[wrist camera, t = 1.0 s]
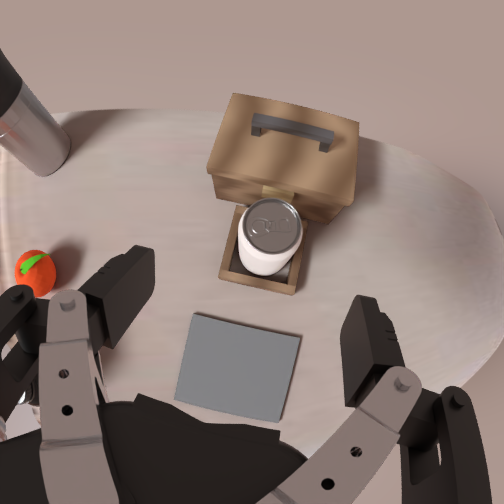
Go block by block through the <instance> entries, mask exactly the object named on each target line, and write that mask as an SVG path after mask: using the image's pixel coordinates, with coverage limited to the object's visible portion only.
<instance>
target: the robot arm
mask: <svg viewBox="0 0 504 504" xmlns="http://www.w3.org/2000/svg"><path fill="white" fill-rule="evenodd" d="M0 145H1V146H2V147H4V148H5V149H6V150H7V151H8V152H9V153H11V154H12V155H13V156H14V157H15V158H17V159H18V160H19V161H20V162H21V163H23V164H24V165H25V166H26V167H27V168H29V169H30V170H31V171H32V172H34V173H35V174H36V175H38V176H47V175H50V174H52V173H53V172H55V171H56V170H57V169H58V168H59V167H60V166H61V165H62V164H63V162H64V161H65V159H66V158H67V156H68V153H69V151H70V145H71V142H70V138H69V136H68V135H67V134H66V133H65V132H64V130H63V129H62V128H61V127H60V126H59V124H58V123H57V122H56V121H55V120H54V118H53V117H52V116H51V115H50V113H49V112H48V111H47V110H46V109H45V107H44V106H43V105H42V104H41V102H40V101H39V100H38V99H37V97H36V96H35V95H34V94H33V93H32V91H31V90H30V89H29V88H28V86H27V85H26V84H25V82H24V81H23V80H22V78H21V77H20V76H19V74H18V73H17V72H16V71H15V69H14V68H13V67H12V65H11V64H10V63H9V61H8V60H7V58H6V57H5V55H4V54H3V52H2V51H1V49H0ZM154 286H155V254H154V250H153V249H151V248H147V247H143V246H138V245H134V246H133V247H132V248H131V249H130V250H129V251H128V252H127V253H126V254H120V255H118V256H116V257H114V258H111V259H110V260H109V261H108V262H107V263H106V264H105V265H104V267H101V268H100V269H99V270H98V272H96V273H95V274H94V275H93V276H92V277H91V278H90V279H89V280H88V281H86V282H85V283H84V284H83V285H82V286H81V287H80V288H79V289H78V290H64V291H61V292H59V293H57V294H55V295H54V296H53V297H52V298H51V300H48V299H39V298H35V295H34V292H33V289H32V288H31V287H30V286H28V285H25V284H20V285H15V286H13V287H11V288H9V289H8V290H6V291H5V292H4V293H3V294H2V295H1V296H0V504H352V503H353V501H354V500H355V499H356V498H357V497H358V495H359V494H360V493H361V492H362V490H363V489H364V488H365V487H366V485H367V484H368V483H369V481H370V480H371V479H372V478H373V476H374V475H375V473H376V472H377V471H378V469H379V468H380V466H381V465H382V464H383V462H384V461H385V459H386V458H387V456H388V455H389V453H390V452H391V450H392V449H393V447H394V446H395V444H396V443H397V444H400V454H401V476H402V504H492V497H491V489H490V482H489V475H488V469H487V463H486V458H485V454H484V449H483V444H482V439H481V435H480V431H479V427H478V423H477V419H476V415H475V412H474V409H473V405H472V402H471V399H470V397H469V396H468V394H467V393H466V392H465V391H464V390H462V389H461V388H459V387H456V386H449V387H446V388H445V389H444V390H443V391H442V393H441V394H437V393H435V392H432V391H429V390H426V389H424V388H422V385H421V381H420V379H419V378H418V376H417V375H416V374H415V373H414V372H412V371H411V370H409V369H407V368H406V367H405V364H404V360H403V356H402V353H401V349H400V346H399V343H398V342H397V340H398V339H397V336H396V334H395V330H394V327H393V323H392V321H391V320H390V319H389V318H388V316H387V315H386V314H385V313H383V312H380V310H379V307H378V304H377V300H376V299H375V298H372V297H367V296H362V295H356V296H355V298H354V300H353V302H352V305H351V307H350V309H349V312H348V314H347V316H346V319H345V321H344V323H343V326H342V329H341V333H340V345H341V356H342V368H343V382H344V398H345V407H355V408H356V410H355V411H354V412H353V413H352V414H351V415H350V416H349V418H348V419H347V420H346V421H345V422H344V423H343V424H342V425H341V426H340V428H339V429H338V430H337V431H336V432H335V433H334V434H333V435H332V436H331V437H330V438H329V439H328V440H327V441H326V442H325V443H324V444H323V445H322V446H321V447H320V448H319V449H318V450H317V451H316V452H315V453H314V454H313V455H312V456H311V457H310V458H309V459H307V457H306V456H304V455H303V454H302V453H301V452H300V451H298V450H297V449H295V448H294V447H292V446H290V445H288V444H286V443H285V442H282V441H280V440H279V438H280V431H279V430H273V429H267V428H262V427H257V426H251V425H247V424H214V423H204V422H202V421H199V420H198V419H196V418H194V417H192V416H190V415H188V414H187V413H185V412H183V411H181V410H180V409H178V408H176V407H174V406H173V405H171V404H168V403H165V402H162V401H159V400H156V399H153V398H150V397H148V396H145V395H142V394H139V393H138V395H137V397H136V398H135V400H134V402H131V401H115V402H109V399H108V395H107V391H106V386H105V381H104V376H103V370H102V365H101V359H100V353H99V349H100V348H101V347H102V345H103V346H106V347H108V348H111V349H114V347H115V346H116V344H117V343H118V341H119V340H120V338H121V337H122V336H123V334H124V333H125V331H126V330H127V329H128V327H129V326H130V324H131V323H132V322H133V320H134V319H135V317H136V316H137V315H138V313H139V312H140V310H141V309H142V308H143V306H144V305H145V304H146V302H147V301H148V300H149V298H150V297H151V295H152V293H153V290H154ZM14 334H16V337H17V339H18V342H17V343H16V345H15V346H14V347H13V348H12V349H11V351H10V352H9V353H8V355H7V356H6V357H5V358H4V360H3V361H2V358H1V352H2V349H3V347H4V346H5V344H6V343H7V342H8V341H9V340H10V338H11V337H12V336H13V335H14ZM38 372H39V405H40V420H41V428H40V429H37V430H34V431H31V432H29V433H26V434H23V435H20V436H17V437H14V438H11V439H8V440H7V436H6V434H5V432H6V425H5V423H6V421H7V419H8V418H9V416H10V414H11V413H12V411H13V410H14V408H15V406H16V405H17V403H18V402H19V400H20V398H21V397H22V395H23V394H24V392H25V391H26V389H27V388H28V386H29V385H30V383H31V382H32V380H33V379H34V377H35V376H36V374H37V373H38ZM438 443H439V444H440V451H441V465H440V464H439V457H438V448H437V444H438Z"/></svg>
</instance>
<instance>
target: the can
mask: <svg viewBox="0 0 504 504" xmlns="http://www.w3.org/2000/svg"><path fill="white" fill-rule="evenodd" d="M302 234H303V230H302V224H301V219H300V216H299V214H298V212H297V211H296V209H295V208H294V207H293V206H292V205H291V204H289V203H288V202H286V201H284V200H282V199H278V198H264V199H260V200H258V201H256V202H255V203H253V204H252V205H251V206H250V207H249V208H248V209H247V210H246V211H245V212H244V213H243V215H242V217H241V219H240V222H239V226H238V244H239V255H240V259H241V261H242V263H243V265H244V266H245V268H246V269H247V270H249V271H250V272H252V273H253V274H256V275H260V276H268V275H272V274H274V273H276V272H278V271H279V270H280V269H281V268H282V267H283V266H284V265H285V264H286V263H287V262H288V260H289V259H290V258H291V257H292V255H293V254H294V253H295V251H296V250H297V249H298V247H299V245H300V243H301V239H302Z"/></svg>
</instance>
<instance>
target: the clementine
mask: <svg viewBox="0 0 504 504" xmlns="http://www.w3.org/2000/svg"><path fill="white" fill-rule="evenodd" d="M48 255H50V254H46V253H44V252H42V251H40V250H31V251H28V252H25V253H24V254H23V255H22V256H21V257H20V258H19V260H18V261H17V264H16V267H15V279H16V282H17V285H20V284H25V285H28V286H30V287H31V288H32V289H33V292H34V295H35V297H42V296H44V295H46V294H47V293H48V292H50V290H51V289H52V288H53V286H54V284H55V280H56V268H55V265H54V263H53V261H52V259H51V258H50V257H49V256H48Z"/></svg>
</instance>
